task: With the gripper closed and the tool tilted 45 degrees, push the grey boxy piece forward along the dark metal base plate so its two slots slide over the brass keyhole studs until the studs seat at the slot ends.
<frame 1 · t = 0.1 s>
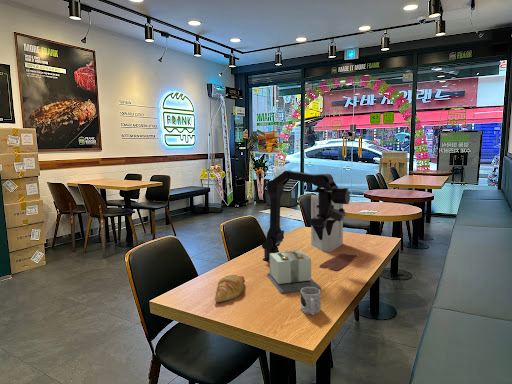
hand: (325, 237, 151), 15 cm above the table, tool pointing down, fingers open, 9 cm apart
paper bag: (324, 246, 190), on the table
base plate: (289, 279, 143), on the table
wooden tablet: (340, 263, 164), on the table
mug: (311, 312, 114), on the table
grey boxy piece: (289, 266, 142), point 6 cm above the table, slide at 0.0 cm
croissant: (229, 293, 131), on the table
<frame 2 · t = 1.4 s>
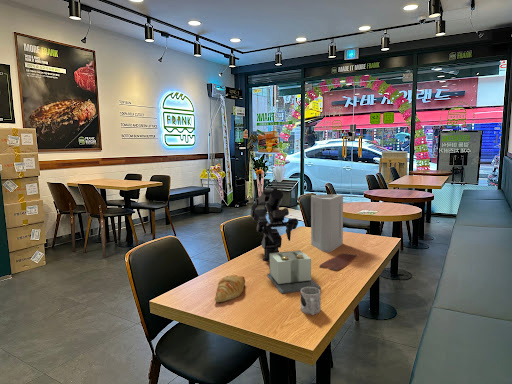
hand: (281, 241, 151), 13 cm above the table, tool tilted 45°, fingers open, 7 cm apart
nothing on the table moved.
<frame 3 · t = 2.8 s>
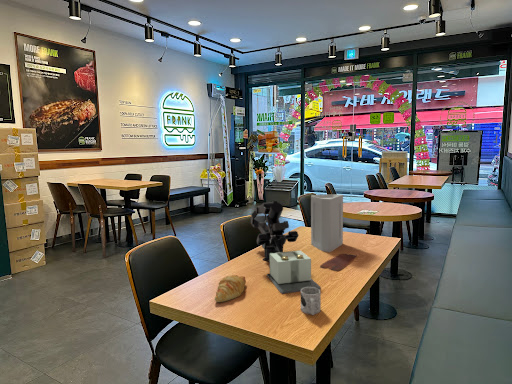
hand: (281, 254, 152), 8 cm above the table, tool tilted 45°, fingers closed
nothing on the table moved.
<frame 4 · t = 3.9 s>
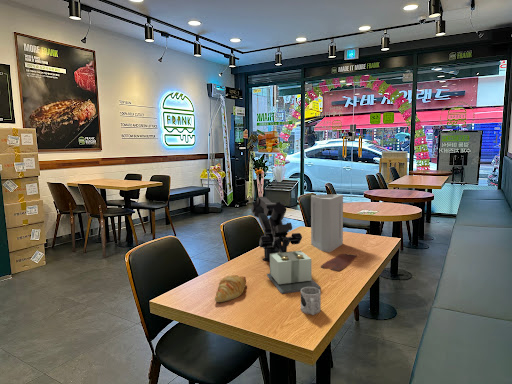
hand: (285, 256, 148), 8 cm above the table, tool tilted 45°, fingers closed, pressing on grey boxy piece
grey boxy piece: (290, 266, 142), point 5 cm above the table, slide at 0.4 cm, touching gripper
everything else where it was.
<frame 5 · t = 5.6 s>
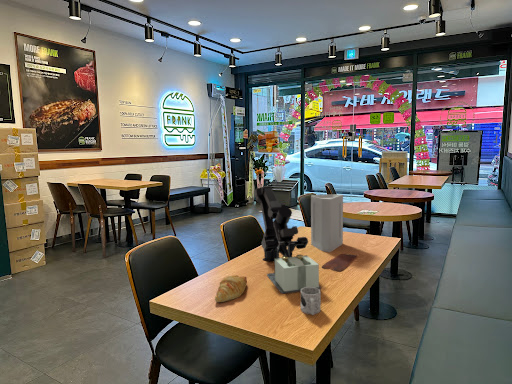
hand: (290, 262, 141), 8 cm above the table, tool tilted 45°, fingers closed
grey boxy piece: (296, 272, 135), point 5 cm above the table, slide at 7.5 cm
everything else where it was.
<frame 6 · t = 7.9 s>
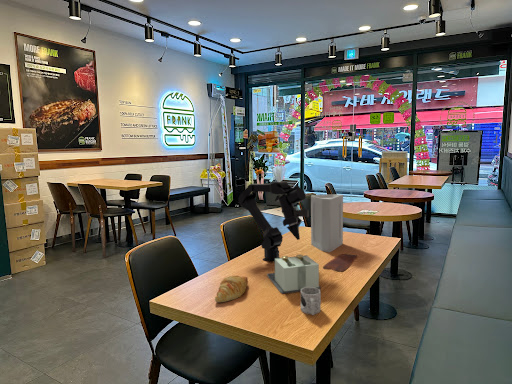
hand: (298, 239, 155), 13 cm above the table, tool tilted 25°, fingers closed
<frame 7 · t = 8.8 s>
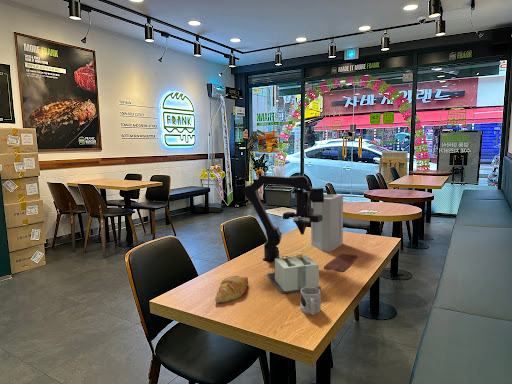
hand: (302, 234, 164), 13 cm above the table, tool pointing down, fingers closed
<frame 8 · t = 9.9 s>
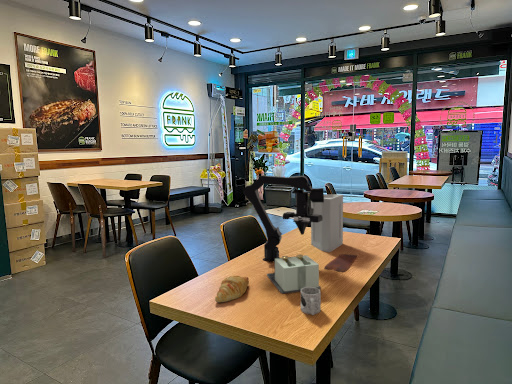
hand: (302, 234, 164), 13 cm above the table, tool pointing down, fingers closed
at the end: grey boxy piece slide at 7.5 cm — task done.
